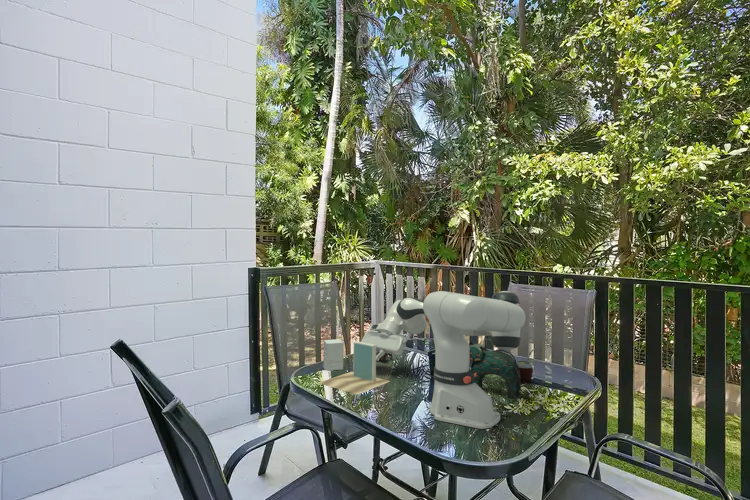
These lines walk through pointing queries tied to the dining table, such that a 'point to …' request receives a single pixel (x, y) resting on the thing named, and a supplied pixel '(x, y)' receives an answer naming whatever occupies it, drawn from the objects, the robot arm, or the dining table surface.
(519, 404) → the dining table surface
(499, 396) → the dining table surface
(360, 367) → the tile
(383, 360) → the brown animal figurine
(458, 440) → the dining table surface
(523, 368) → the mate gourd
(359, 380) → the board
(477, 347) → the ceramic cat
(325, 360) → the supplement box
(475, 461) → the dining table surface
